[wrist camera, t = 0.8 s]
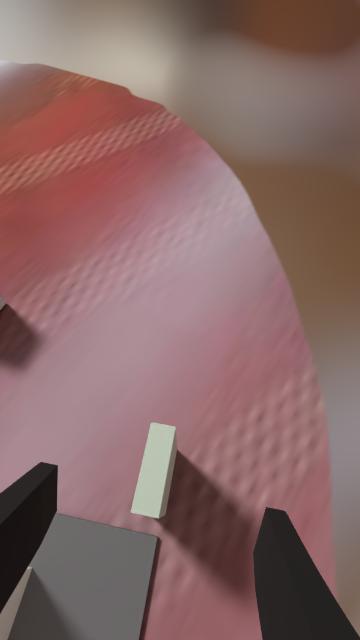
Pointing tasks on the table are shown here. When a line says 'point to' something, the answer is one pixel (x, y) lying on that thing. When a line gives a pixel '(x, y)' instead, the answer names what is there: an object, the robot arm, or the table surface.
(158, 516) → the domino
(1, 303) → the medicine box
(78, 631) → the charcoal mat
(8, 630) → the domino
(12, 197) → the table surface
